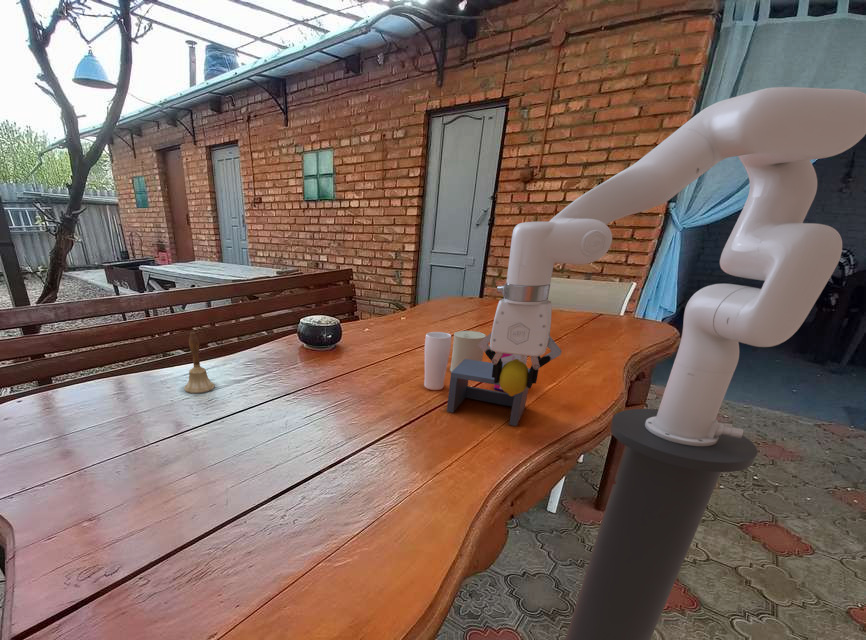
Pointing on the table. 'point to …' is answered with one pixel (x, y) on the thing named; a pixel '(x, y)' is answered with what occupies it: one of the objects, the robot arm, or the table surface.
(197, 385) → the hand bell
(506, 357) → the supplement box
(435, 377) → the drinking glass
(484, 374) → the shelf
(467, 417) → the table surface
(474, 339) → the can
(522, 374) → the lemon
